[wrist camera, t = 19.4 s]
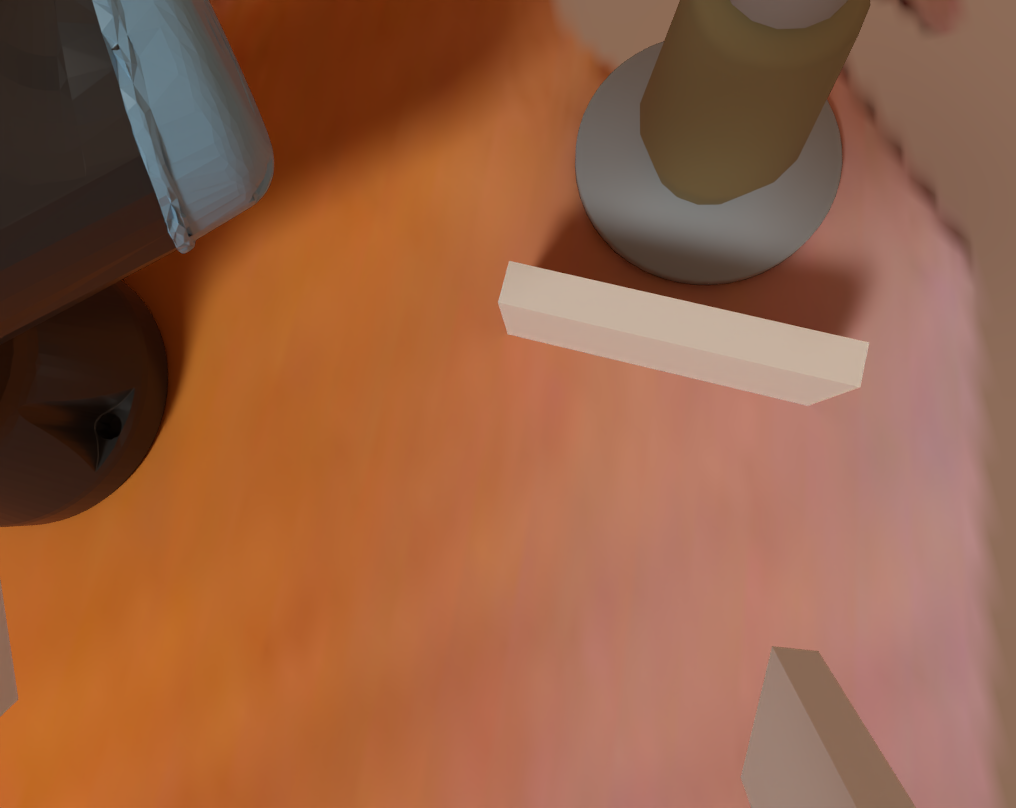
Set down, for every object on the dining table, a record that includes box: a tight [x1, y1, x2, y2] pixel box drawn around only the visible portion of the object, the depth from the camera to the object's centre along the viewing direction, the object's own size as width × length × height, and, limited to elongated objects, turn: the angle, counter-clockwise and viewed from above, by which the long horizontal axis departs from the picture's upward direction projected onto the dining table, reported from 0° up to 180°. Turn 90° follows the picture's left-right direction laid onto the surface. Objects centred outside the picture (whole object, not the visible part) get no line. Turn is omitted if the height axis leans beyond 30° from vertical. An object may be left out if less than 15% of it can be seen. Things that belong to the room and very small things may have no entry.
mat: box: [575, 41, 842, 285], centre depth 36 cm, size 14×14×1 cm
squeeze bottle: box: [640, 0, 870, 205], centre depth 27 cm, size 8×8×18 cm
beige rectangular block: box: [498, 261, 869, 406], centre depth 32 cm, size 16×2×6 cm, turn 75°
